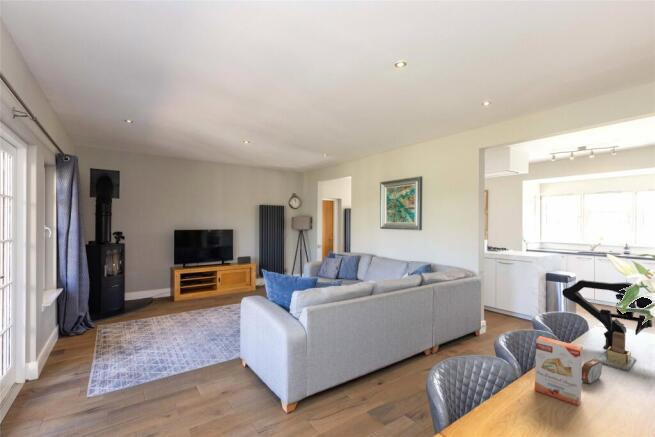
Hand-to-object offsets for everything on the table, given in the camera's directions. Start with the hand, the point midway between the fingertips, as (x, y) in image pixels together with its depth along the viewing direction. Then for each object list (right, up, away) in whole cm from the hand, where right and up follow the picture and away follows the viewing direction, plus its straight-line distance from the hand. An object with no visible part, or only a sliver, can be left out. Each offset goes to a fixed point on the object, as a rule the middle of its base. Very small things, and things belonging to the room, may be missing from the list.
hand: (622, 332), depth 154 cm
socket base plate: (-5, -13, -2) cm, 14 cm away
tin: (-33, -13, -21) cm, 41 cm away
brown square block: (-4, -12, -2) cm, 13 cm away
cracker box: (-57, -13, -33) cm, 67 cm away
